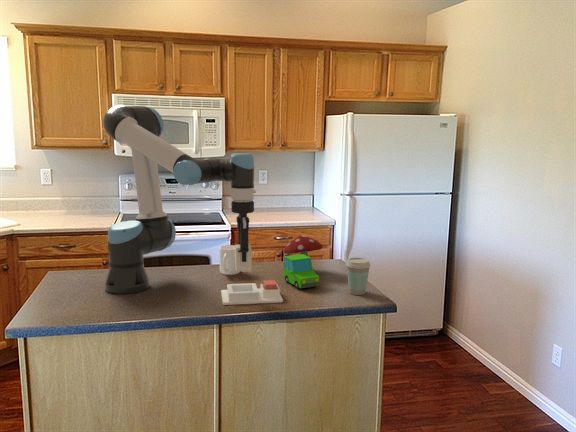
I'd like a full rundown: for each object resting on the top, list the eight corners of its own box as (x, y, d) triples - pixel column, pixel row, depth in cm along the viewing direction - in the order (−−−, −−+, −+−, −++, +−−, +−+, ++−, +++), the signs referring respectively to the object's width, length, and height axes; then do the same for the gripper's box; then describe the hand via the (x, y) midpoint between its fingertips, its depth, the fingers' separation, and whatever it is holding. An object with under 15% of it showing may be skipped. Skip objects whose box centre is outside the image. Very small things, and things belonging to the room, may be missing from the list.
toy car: (298, 292, 175) (298, 265, 174) (281, 282, 187) (281, 256, 185) (322, 288, 180) (323, 262, 178) (304, 278, 192) (305, 253, 190)
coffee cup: (370, 290, 179) (372, 258, 177) (366, 297, 171) (368, 264, 169) (347, 287, 181) (349, 256, 179) (342, 294, 173) (343, 261, 171)
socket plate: (222, 304, 161) (222, 295, 161) (221, 292, 174) (221, 282, 173) (283, 302, 165) (283, 292, 164) (276, 289, 177) (277, 280, 177)
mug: (233, 278, 190) (233, 252, 188) (213, 277, 191) (213, 251, 189) (242, 270, 201) (242, 245, 199) (223, 268, 203) (223, 244, 201)
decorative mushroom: (282, 276, 193) (282, 239, 190) (283, 265, 209) (284, 231, 206) (322, 277, 193) (324, 240, 190) (321, 266, 208) (322, 232, 206)
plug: (236, 271, 164) (236, 242, 162) (235, 267, 169) (235, 239, 167) (251, 270, 165) (251, 241, 163) (249, 266, 170) (249, 238, 168)
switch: (265, 290, 167) (265, 284, 167) (263, 285, 172) (263, 280, 172) (276, 290, 168) (276, 284, 167) (274, 285, 173) (274, 279, 172)
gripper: (257, 204, 155) (257, 275, 159) (251, 196, 172) (251, 261, 176) (233, 204, 153) (233, 276, 157) (229, 196, 171) (230, 261, 175)
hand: (243, 268), depth 167 cm, fingers closed on plug, 5 cm apart
